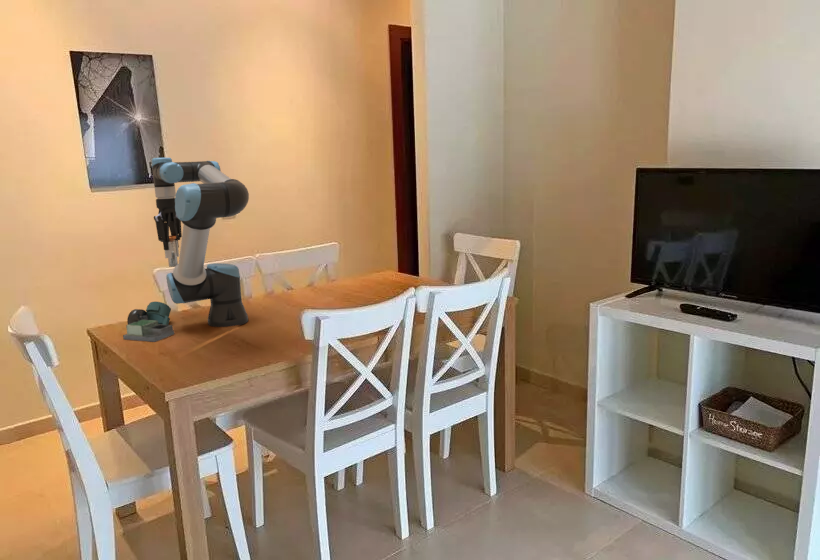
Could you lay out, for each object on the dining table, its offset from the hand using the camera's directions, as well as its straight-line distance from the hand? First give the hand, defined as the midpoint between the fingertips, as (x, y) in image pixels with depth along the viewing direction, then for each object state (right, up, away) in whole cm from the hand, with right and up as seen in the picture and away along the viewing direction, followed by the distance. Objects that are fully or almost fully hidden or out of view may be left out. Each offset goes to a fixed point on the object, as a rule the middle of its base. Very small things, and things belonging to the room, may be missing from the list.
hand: (172, 257), depth 254 cm
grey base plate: (0, -30, -23) cm, 37 cm away
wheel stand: (-7, -28, -15) cm, 33 cm away
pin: (0, -4, +1) cm, 4 cm away
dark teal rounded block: (-2, -24, -3) cm, 24 cm away
